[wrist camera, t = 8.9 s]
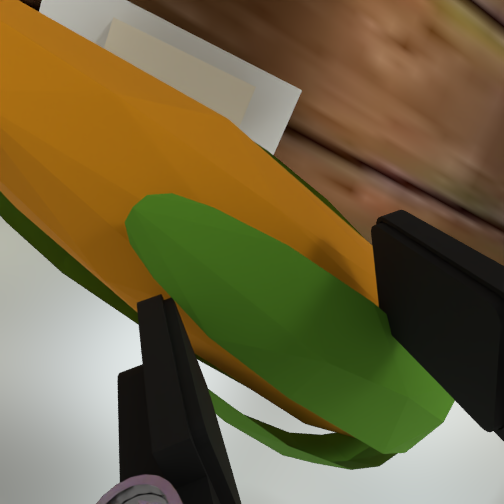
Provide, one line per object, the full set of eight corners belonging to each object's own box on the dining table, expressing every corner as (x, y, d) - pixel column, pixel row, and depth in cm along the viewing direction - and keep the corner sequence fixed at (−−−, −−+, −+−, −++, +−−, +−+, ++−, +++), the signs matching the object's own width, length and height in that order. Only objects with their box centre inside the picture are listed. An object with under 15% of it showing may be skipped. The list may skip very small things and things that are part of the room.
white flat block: (5, 156, 34) (-6, 166, 31) (54, -35, 30) (47, -44, 27) (233, 230, 42) (243, 244, 39) (295, 88, 38) (311, 92, 35)
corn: (412, 566, 14) (-526, 209, 5) (310, 410, 21) (-167, 130, 11) (569, 401, 14) (-128, -376, 4) (413, 294, 20) (5, -100, 11)
